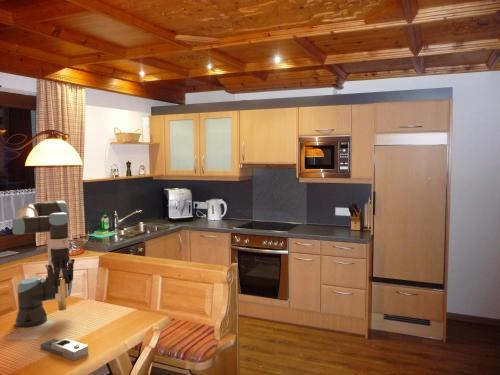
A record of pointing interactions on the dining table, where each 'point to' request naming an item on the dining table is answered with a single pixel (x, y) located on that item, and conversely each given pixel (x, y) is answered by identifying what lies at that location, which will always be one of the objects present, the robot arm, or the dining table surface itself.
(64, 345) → the riveted square sleeve
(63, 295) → the brass pin
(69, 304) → the dining table surface
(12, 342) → the dining table surface
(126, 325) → the dining table surface
